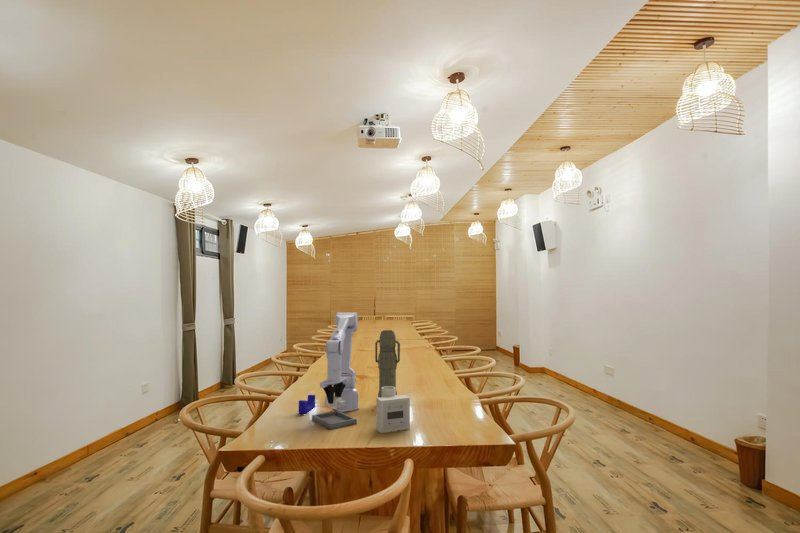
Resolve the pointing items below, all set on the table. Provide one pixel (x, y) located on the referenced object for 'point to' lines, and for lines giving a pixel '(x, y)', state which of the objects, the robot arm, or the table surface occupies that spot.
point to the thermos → (387, 359)
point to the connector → (335, 402)
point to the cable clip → (307, 404)
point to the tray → (334, 419)
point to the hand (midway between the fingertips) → (334, 402)
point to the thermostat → (392, 411)
